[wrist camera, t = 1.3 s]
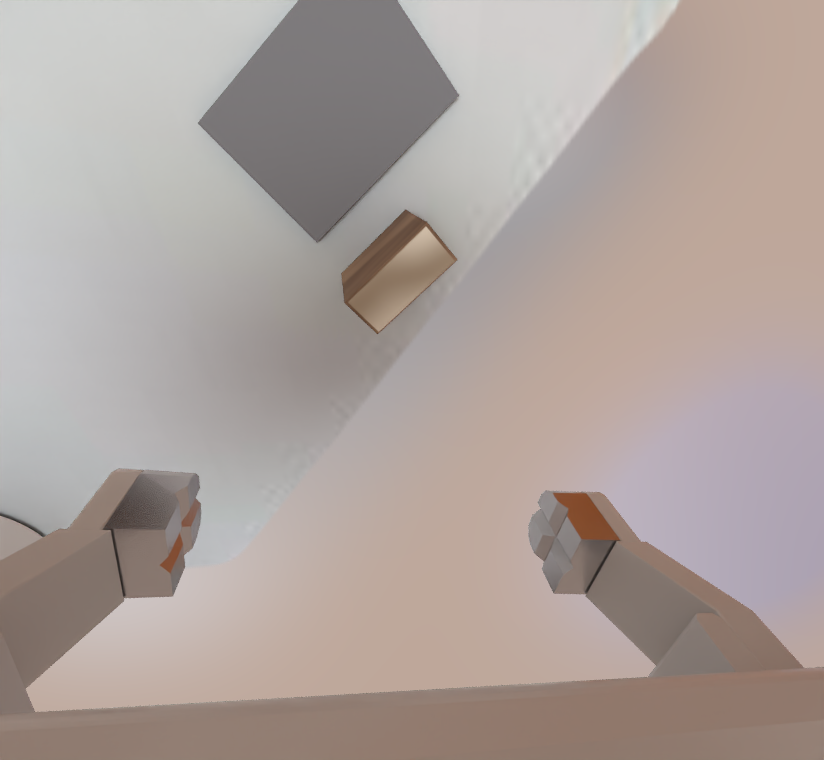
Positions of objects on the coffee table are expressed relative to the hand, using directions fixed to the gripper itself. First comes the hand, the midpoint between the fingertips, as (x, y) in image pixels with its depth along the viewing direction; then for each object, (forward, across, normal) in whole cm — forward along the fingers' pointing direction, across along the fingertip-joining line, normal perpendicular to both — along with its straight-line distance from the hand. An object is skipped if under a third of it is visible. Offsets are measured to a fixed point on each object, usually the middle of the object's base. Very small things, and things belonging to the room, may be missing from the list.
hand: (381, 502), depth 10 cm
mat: (+26, +3, -10) cm, 28 cm away
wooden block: (+26, -2, -1) cm, 26 cm away
